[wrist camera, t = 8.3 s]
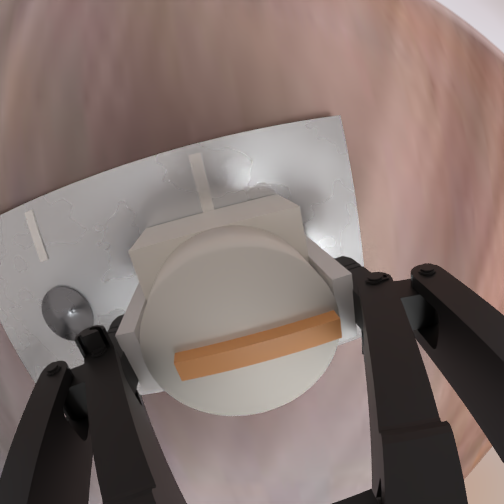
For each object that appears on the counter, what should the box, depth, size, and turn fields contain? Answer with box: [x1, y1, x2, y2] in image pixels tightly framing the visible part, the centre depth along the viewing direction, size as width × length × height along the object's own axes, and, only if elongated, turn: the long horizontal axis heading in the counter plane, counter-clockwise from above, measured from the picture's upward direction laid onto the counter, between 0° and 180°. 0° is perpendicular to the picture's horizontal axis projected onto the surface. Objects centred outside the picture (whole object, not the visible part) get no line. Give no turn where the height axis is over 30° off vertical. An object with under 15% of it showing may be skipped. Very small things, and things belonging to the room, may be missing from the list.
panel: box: [0, 115, 364, 395], centre depth 16 cm, size 24×14×4 cm, turn 103°
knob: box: [128, 194, 342, 416], centre depth 13 cm, size 7×7×8 cm
